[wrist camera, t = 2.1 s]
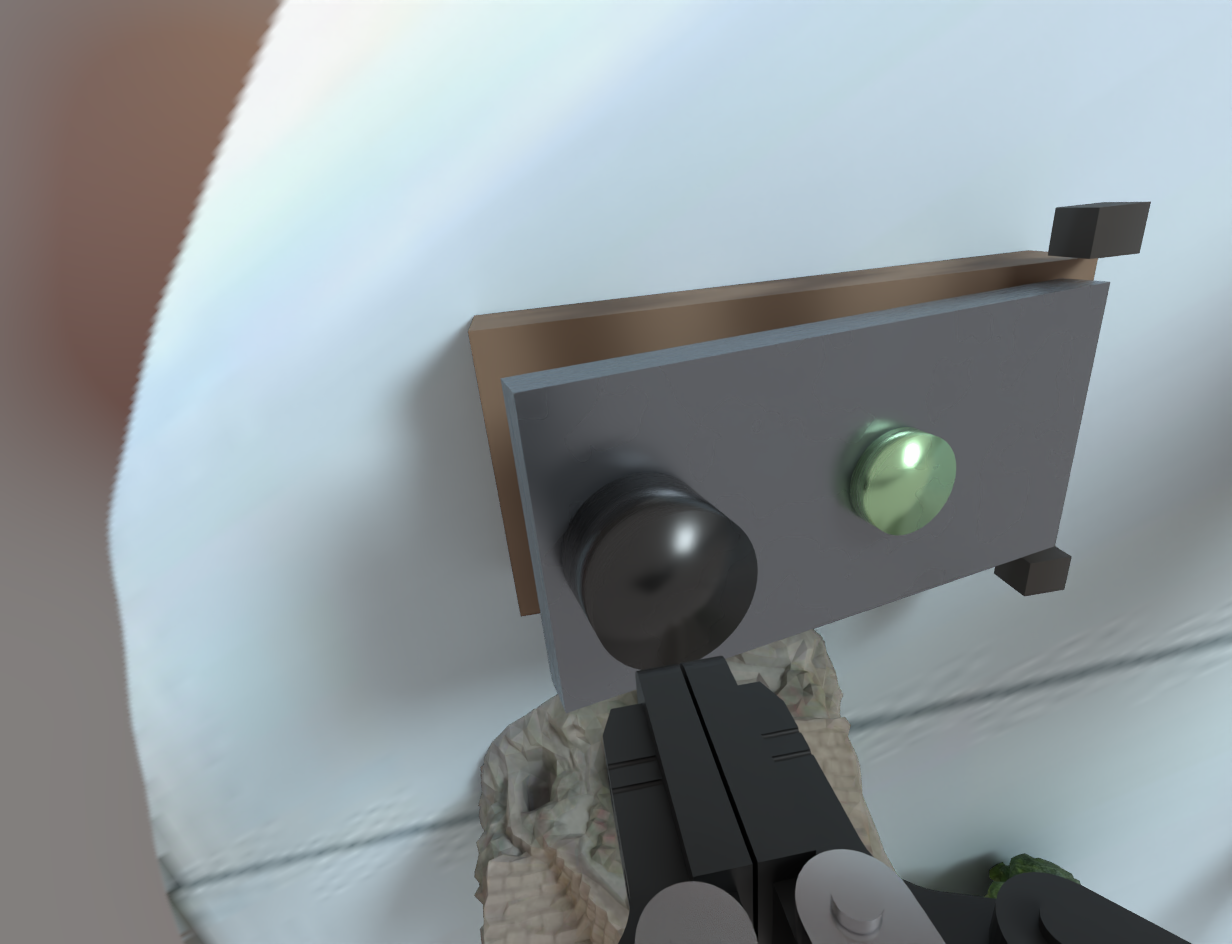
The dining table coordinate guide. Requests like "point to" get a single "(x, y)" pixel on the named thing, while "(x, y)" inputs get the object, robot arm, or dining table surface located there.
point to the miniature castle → (582, 811)
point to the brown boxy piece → (764, 306)
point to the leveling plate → (793, 474)
